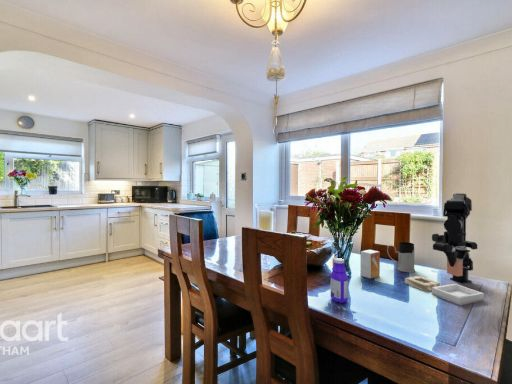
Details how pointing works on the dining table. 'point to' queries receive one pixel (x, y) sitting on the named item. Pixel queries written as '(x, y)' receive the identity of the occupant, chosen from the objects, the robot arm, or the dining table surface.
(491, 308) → the dining table surface
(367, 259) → the small box
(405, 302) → the dining table surface
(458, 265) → the block
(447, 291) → the parts tray
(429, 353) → the dining table surface
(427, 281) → the socket
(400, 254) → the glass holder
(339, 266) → the bottle
